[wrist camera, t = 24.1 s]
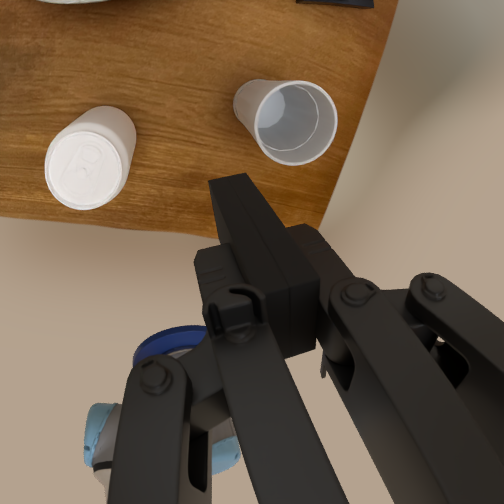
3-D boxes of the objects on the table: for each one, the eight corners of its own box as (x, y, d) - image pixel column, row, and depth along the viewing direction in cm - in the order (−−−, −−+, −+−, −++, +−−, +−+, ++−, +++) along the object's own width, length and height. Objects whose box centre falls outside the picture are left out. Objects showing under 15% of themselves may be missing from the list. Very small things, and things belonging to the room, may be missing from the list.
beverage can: (62, 154, 32) (28, 194, 22) (91, 93, 29) (61, 110, 20) (117, 180, 36) (104, 228, 26) (149, 123, 33) (145, 150, 24)
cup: (276, 63, 33) (323, 69, 24) (297, 119, 38) (346, 146, 28) (215, 88, 33) (240, 101, 24) (241, 144, 38) (272, 179, 29)
